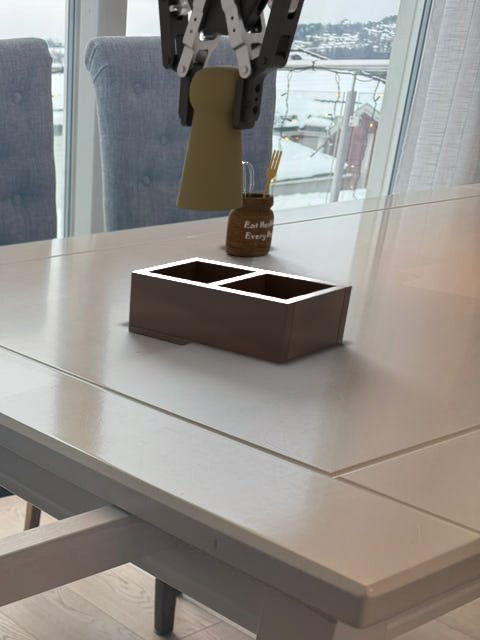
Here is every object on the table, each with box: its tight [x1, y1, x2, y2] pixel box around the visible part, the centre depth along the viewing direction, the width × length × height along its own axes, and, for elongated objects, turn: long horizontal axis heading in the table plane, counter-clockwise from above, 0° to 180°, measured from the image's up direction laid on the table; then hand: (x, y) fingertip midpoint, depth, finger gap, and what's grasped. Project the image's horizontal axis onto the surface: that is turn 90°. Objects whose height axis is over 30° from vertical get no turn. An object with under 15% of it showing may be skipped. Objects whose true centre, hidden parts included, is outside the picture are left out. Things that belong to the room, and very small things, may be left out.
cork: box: [175, 65, 243, 212], centre depth 83 cm, size 6×6×11 cm
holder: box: [127, 257, 353, 364], centre depth 88 cm, size 10×18×6 cm, turn 40°
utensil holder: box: [224, 149, 283, 258], centre depth 121 cm, size 6×6×12 cm
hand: (216, 126), depth 82 cm, fingers closed on cork, 5 cm apart
